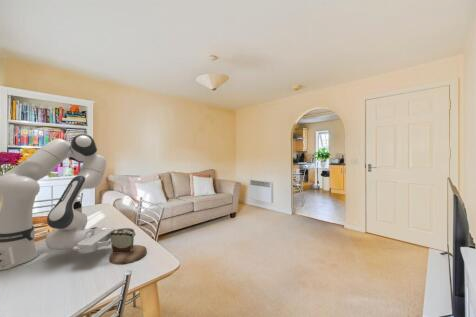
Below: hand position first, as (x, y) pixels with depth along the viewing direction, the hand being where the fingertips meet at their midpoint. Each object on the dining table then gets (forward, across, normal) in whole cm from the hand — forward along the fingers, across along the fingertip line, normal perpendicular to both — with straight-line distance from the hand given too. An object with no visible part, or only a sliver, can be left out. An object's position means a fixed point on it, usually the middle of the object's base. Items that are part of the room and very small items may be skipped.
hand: (115, 239), depth 103 cm
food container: (+4, +3, +7) cm, 8 cm away
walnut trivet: (+6, 0, +8) cm, 10 cm away
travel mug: (-46, +41, +8) cm, 62 cm away
